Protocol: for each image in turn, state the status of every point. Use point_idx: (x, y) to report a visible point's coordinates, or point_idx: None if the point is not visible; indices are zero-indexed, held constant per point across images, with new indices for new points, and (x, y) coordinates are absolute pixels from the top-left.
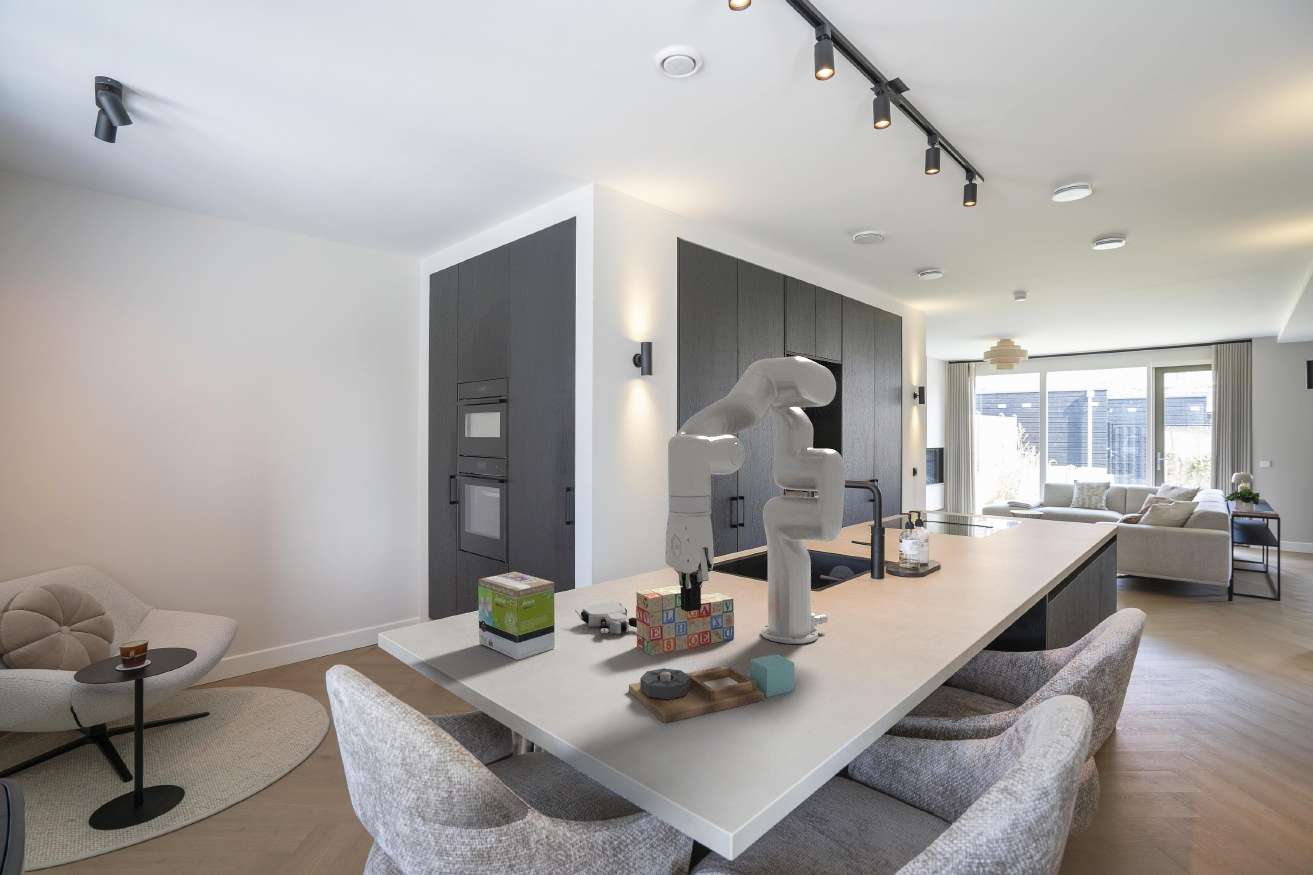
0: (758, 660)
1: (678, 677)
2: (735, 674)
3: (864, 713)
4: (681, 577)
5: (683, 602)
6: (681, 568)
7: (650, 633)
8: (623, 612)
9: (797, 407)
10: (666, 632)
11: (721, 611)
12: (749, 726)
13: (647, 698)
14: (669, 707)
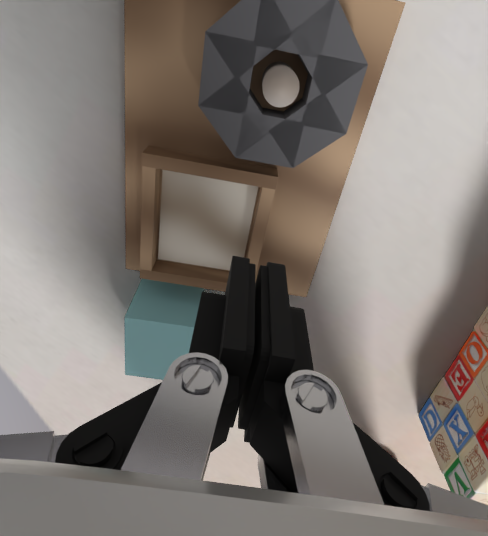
0: (179, 335)
1: (252, 122)
2: (213, 277)
3: (3, 342)
4: (306, 438)
5: (259, 287)
6: (99, 525)
7: None
8: None
9: None
10: None
11: (462, 460)
12: (22, 144)
13: None
14: (169, 3)
